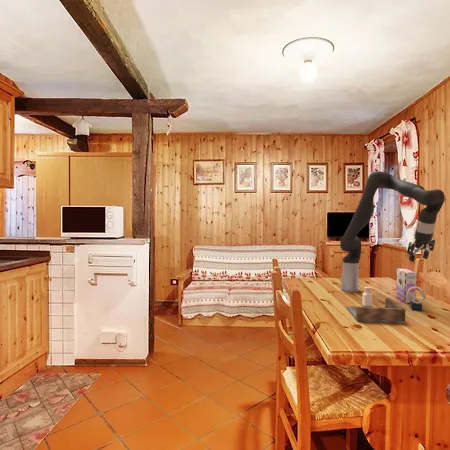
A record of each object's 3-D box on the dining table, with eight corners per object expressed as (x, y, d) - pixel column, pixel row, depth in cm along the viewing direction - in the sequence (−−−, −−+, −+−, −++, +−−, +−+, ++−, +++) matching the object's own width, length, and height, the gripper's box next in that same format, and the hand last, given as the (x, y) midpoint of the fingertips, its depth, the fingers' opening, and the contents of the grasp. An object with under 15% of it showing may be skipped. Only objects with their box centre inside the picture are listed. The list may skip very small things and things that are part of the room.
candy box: (416, 304, 166) (417, 272, 165) (404, 303, 167) (405, 272, 167) (407, 297, 179) (407, 268, 179) (395, 296, 181) (396, 268, 180)
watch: (426, 311, 153) (427, 288, 153) (407, 309, 156) (408, 287, 156) (424, 308, 158) (425, 286, 158) (406, 306, 161) (406, 285, 161)
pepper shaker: (361, 304, 165) (362, 286, 165) (369, 304, 165) (370, 286, 164) (364, 306, 161) (364, 288, 161) (372, 307, 161) (372, 288, 160)
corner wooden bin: (356, 321, 139) (357, 307, 139) (346, 308, 159) (346, 296, 158) (405, 323, 136) (405, 309, 136) (388, 309, 156) (388, 297, 155)
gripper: (429, 225, 160) (423, 254, 166) (406, 229, 156) (400, 258, 162) (443, 230, 153) (435, 260, 159) (419, 235, 149) (412, 265, 155)
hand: (418, 259), depth 161 cm, fingers open, 8 cm apart
